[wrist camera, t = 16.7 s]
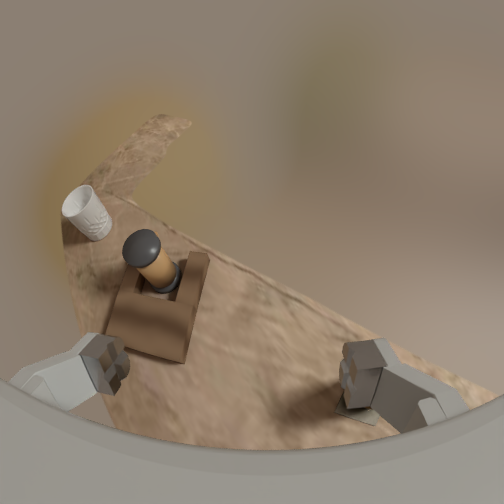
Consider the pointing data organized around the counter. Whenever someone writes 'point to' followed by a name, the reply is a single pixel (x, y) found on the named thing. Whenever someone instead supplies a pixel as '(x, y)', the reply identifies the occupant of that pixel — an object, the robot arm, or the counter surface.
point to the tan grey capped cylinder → (151, 261)
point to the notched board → (159, 312)
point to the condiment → (357, 412)
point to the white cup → (87, 213)
